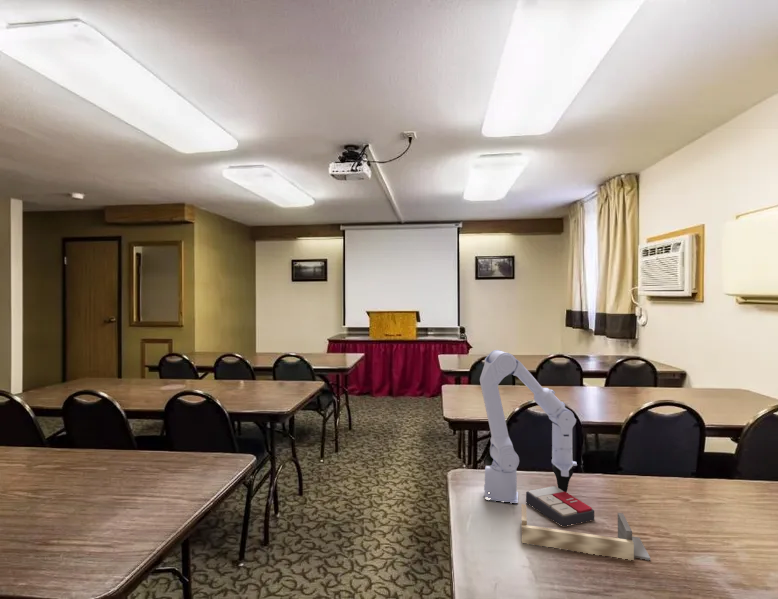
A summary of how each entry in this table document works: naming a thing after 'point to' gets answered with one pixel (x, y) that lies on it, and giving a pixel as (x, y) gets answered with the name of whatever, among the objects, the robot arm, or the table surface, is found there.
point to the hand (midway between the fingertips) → (562, 491)
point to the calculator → (559, 506)
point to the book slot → (586, 540)
